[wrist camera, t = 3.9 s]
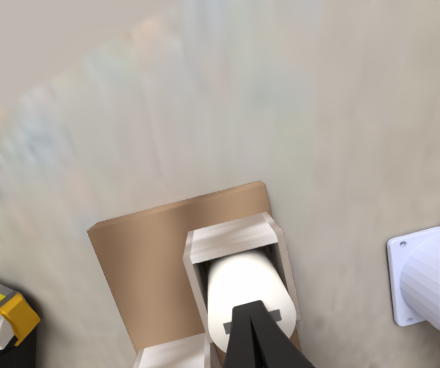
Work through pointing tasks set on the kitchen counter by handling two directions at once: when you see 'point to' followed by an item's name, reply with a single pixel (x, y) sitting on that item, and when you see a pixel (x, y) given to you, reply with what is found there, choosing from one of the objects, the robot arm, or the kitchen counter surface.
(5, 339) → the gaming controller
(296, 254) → the kitchen counter surface
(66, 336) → the kitchen counter surface
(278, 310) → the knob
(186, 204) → the knob board
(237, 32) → the kitchen counter surface
